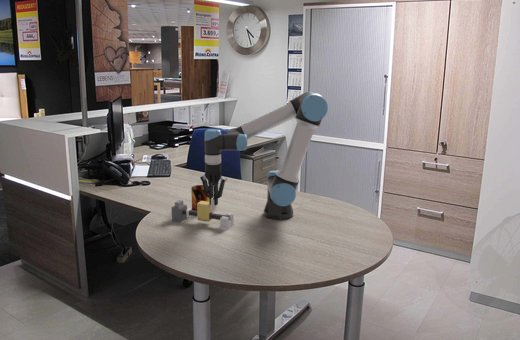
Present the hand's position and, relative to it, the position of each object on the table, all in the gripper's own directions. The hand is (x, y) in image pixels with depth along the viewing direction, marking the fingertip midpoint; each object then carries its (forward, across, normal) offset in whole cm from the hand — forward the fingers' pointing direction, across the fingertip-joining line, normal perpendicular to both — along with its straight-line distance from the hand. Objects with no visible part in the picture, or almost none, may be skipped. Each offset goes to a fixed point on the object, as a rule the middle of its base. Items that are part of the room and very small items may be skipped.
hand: (213, 211), depth 214 cm
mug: (+7, +15, -17) cm, 24 cm away
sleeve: (+5, +5, 0) cm, 7 cm away
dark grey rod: (+4, +7, 0) cm, 8 cm away
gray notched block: (+7, -7, 0) cm, 10 cm away
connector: (+7, +19, 0) cm, 20 cm away
